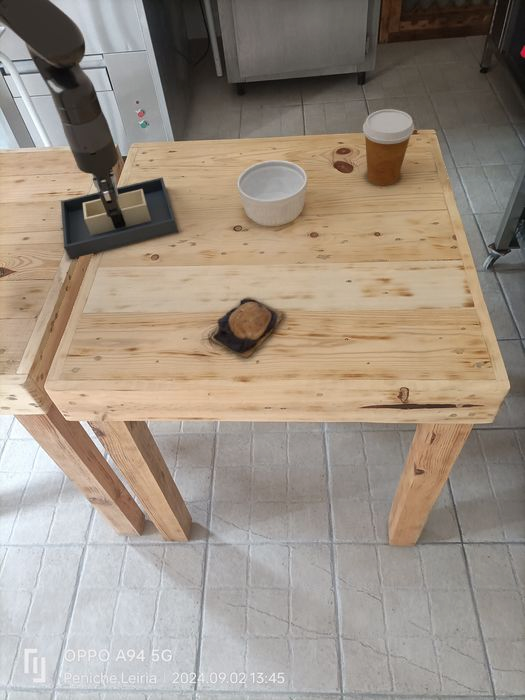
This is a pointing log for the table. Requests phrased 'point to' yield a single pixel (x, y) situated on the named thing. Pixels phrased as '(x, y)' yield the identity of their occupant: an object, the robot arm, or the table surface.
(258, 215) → the ramekin
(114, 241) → the tray
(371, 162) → the disposable coffee cup
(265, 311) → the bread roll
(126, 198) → the beige open box
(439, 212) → the table surface
